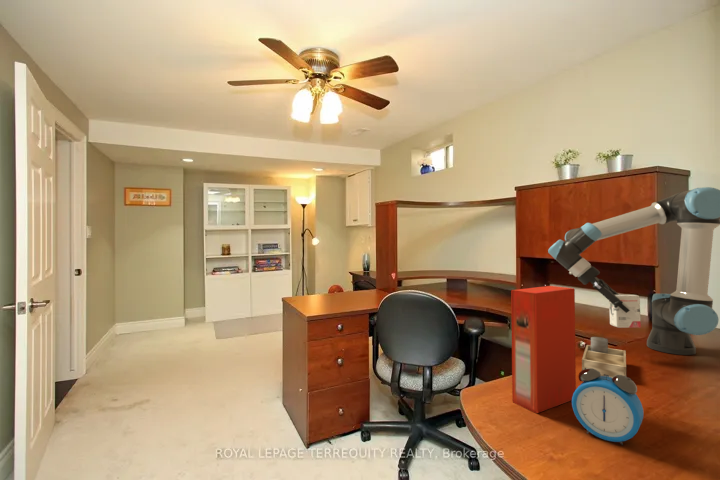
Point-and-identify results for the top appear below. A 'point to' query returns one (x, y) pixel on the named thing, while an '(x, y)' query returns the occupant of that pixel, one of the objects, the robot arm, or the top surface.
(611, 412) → the alarm clock
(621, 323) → the ink box
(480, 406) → the top surface
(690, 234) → the robot arm
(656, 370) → the top surface
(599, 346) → the desk organizer
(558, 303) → the file binder
